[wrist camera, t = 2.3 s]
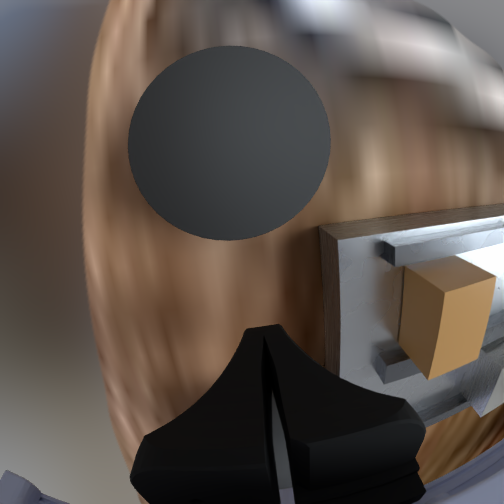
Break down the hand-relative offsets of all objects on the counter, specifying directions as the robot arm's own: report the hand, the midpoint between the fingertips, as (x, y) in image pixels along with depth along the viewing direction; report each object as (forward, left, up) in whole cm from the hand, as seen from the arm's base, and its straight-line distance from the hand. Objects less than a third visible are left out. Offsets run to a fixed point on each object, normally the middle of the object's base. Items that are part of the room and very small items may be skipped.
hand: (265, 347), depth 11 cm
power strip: (-11, -12, -4) cm, 17 cm away
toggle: (-4, -7, -1) cm, 8 cm away
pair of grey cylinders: (0, 0, -4) cm, 4 cm away
